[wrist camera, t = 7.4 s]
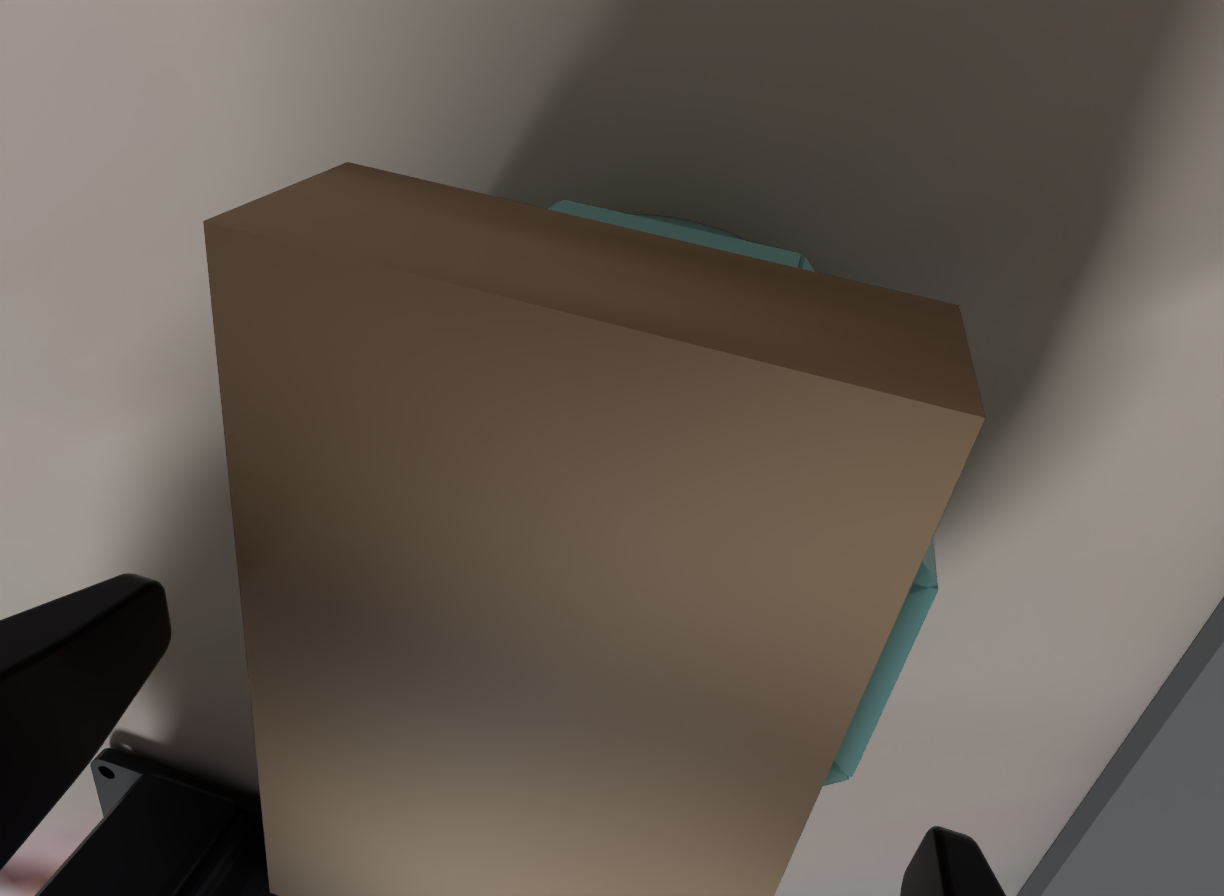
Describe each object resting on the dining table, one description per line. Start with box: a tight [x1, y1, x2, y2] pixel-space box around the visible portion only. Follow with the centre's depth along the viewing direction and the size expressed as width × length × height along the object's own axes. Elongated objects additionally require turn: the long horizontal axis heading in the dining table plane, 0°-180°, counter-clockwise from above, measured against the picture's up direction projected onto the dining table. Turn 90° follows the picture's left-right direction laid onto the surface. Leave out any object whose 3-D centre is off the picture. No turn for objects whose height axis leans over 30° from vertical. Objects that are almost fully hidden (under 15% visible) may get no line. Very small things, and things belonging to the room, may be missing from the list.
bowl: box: [547, 199, 938, 786], centre depth 13 cm, size 8×8×4 cm
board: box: [203, 162, 985, 896], centre depth 11 cm, size 10×6×2 cm, turn 171°
